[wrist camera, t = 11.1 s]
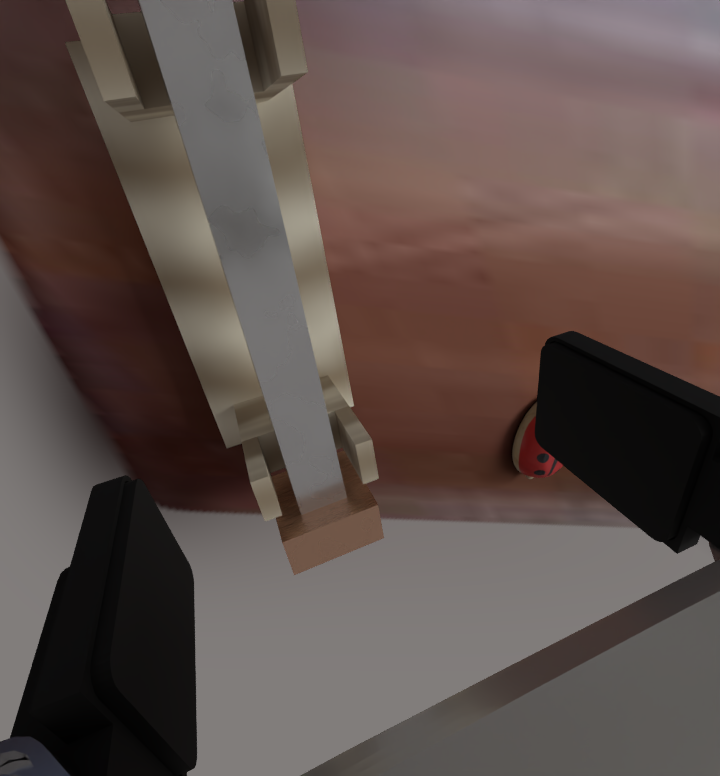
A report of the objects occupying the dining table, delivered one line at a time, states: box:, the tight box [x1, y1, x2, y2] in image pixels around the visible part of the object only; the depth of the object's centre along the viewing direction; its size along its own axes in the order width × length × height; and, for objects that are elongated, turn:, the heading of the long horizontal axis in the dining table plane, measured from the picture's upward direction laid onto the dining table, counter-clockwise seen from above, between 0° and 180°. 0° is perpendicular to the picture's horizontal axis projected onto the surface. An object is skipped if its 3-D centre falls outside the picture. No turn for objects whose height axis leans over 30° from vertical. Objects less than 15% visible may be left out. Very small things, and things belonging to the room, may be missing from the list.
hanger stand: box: [65, 0, 379, 521], centre depth 23 cm, size 24×10×10 cm, turn 10°
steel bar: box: [138, 0, 384, 575], centre depth 21 cm, size 32×6×6 cm, turn 9°
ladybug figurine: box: [512, 402, 563, 479], centre depth 43 cm, size 7×10×4 cm
